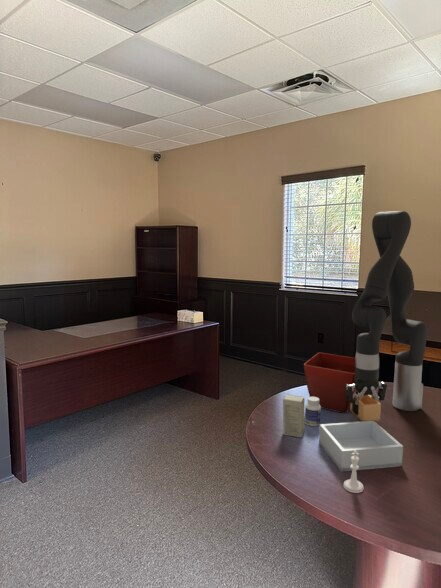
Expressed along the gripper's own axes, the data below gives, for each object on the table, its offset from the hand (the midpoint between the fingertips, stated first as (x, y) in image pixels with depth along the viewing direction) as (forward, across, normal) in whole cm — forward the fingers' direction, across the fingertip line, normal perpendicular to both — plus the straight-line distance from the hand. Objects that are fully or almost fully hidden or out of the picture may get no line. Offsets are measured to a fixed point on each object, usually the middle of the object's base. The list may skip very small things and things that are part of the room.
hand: (364, 412), depth 139 cm
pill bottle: (+5, +16, -5) cm, 18 cm away
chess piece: (+4, +20, +31) cm, 37 cm away
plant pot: (+5, +2, -19) cm, 20 cm away
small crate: (+1, 0, 0) cm, 1 cm away
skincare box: (+5, +26, +1) cm, 26 cm away
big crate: (+4, +11, +16) cm, 20 cm away
